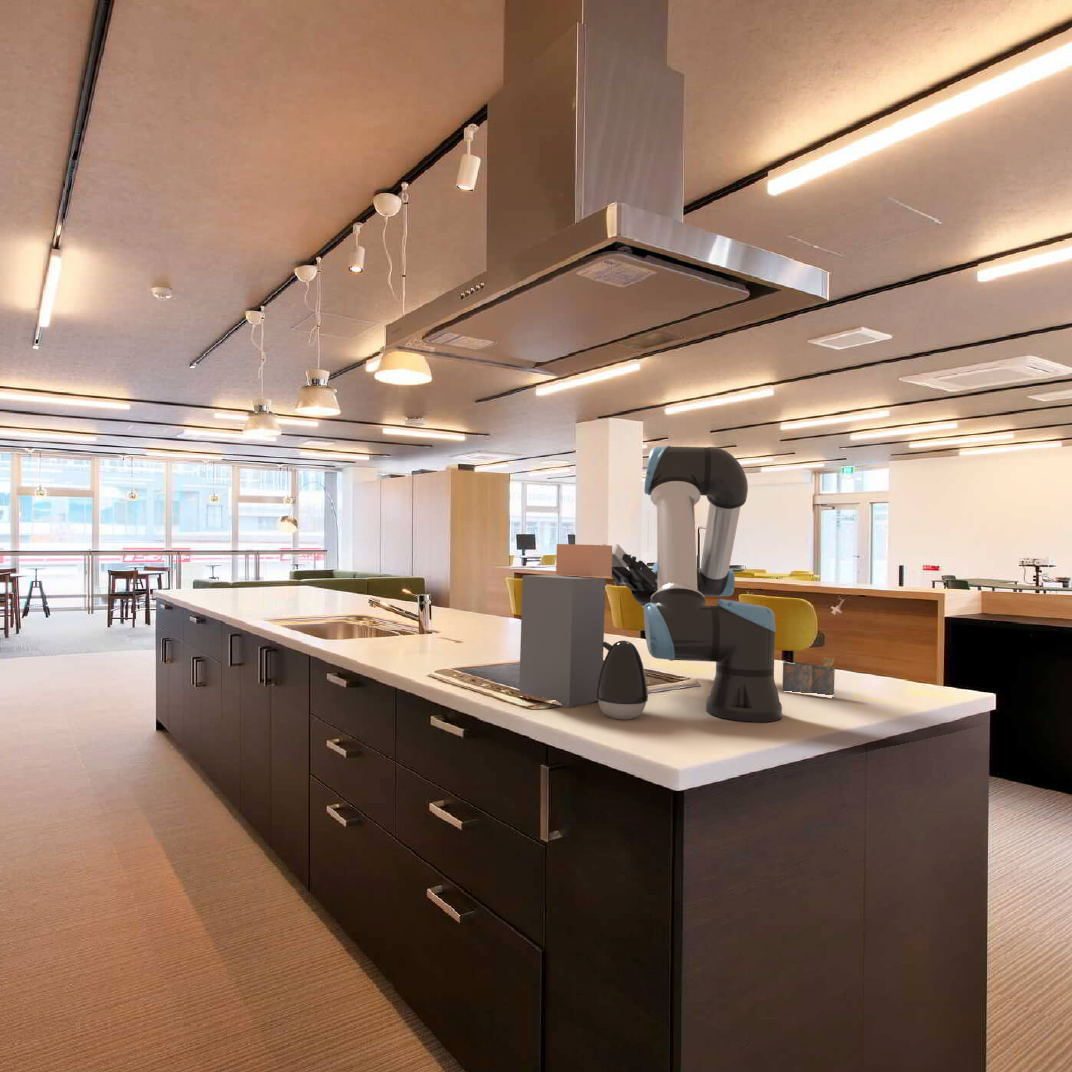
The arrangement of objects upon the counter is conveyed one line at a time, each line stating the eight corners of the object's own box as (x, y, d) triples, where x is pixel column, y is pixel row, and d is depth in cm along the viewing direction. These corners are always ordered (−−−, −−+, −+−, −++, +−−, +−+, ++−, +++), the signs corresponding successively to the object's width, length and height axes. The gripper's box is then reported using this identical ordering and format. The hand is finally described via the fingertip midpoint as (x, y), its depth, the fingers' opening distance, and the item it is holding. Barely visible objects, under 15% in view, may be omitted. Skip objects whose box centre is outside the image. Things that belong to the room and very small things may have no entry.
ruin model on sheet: (870, 698, 174) (871, 658, 175) (856, 710, 161) (857, 665, 161) (766, 685, 189) (767, 647, 189) (745, 694, 175) (746, 653, 175)
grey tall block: (552, 690, 170) (556, 575, 171) (602, 699, 161) (605, 578, 162) (518, 697, 161) (522, 575, 162) (569, 707, 152) (572, 578, 153)
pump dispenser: (617, 708, 153) (619, 636, 153) (657, 717, 146) (659, 641, 146) (584, 715, 146) (587, 639, 146) (625, 725, 138) (628, 645, 139)
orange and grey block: (608, 573, 184) (609, 546, 184) (642, 575, 178) (643, 546, 178) (555, 574, 168) (556, 544, 168) (591, 576, 161) (592, 544, 161)
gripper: (674, 610, 184) (632, 563, 168) (620, 605, 194) (576, 561, 179) (682, 584, 187) (642, 536, 171) (628, 580, 197) (586, 535, 182)
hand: (608, 548), depth 175 cm, fingers closed on orange and grey block, 3 cm apart
